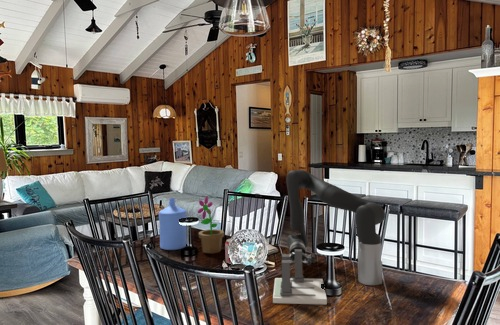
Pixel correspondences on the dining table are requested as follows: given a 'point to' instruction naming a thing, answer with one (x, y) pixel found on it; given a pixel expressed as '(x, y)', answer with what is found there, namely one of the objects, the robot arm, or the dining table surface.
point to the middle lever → (286, 257)
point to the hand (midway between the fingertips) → (298, 263)
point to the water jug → (172, 227)
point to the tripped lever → (298, 266)
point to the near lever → (286, 279)
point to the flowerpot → (209, 231)
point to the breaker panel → (301, 292)
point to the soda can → (227, 251)
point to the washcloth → (272, 249)
